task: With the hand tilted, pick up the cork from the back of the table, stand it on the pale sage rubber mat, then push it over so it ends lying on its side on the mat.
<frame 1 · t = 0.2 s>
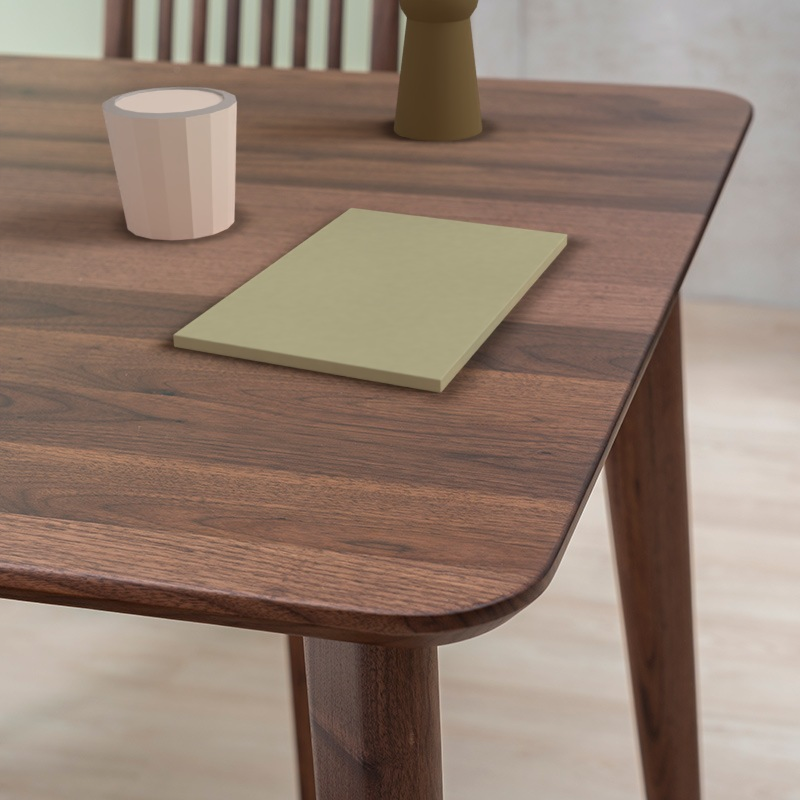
cork: (437, 138, 84), on the table
pale pink cup: (182, 233, 67), on the table
mat: (388, 299, 58), on the table
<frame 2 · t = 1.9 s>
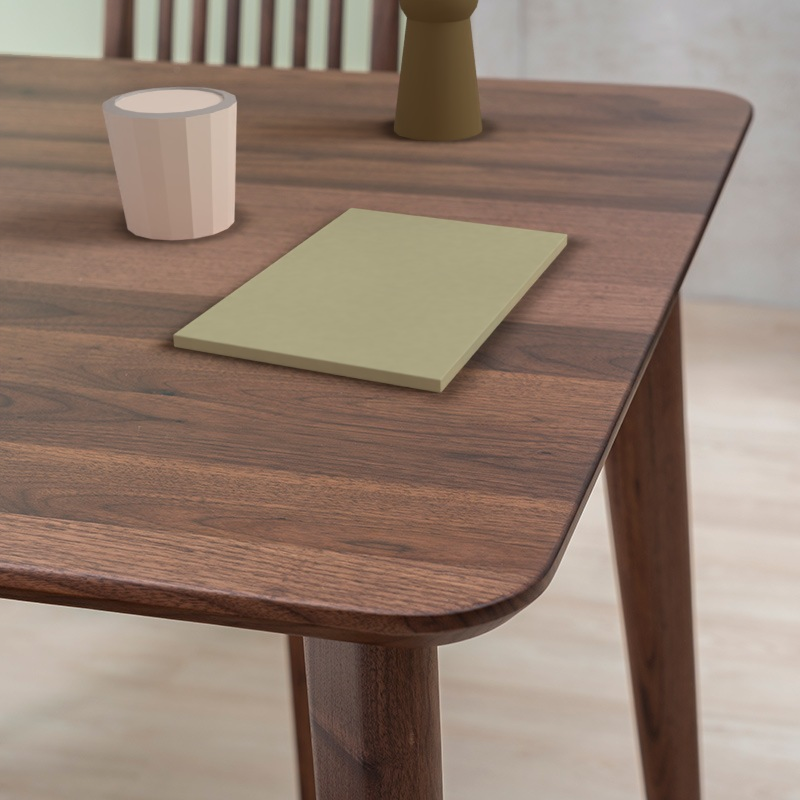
nothing on the table moved.
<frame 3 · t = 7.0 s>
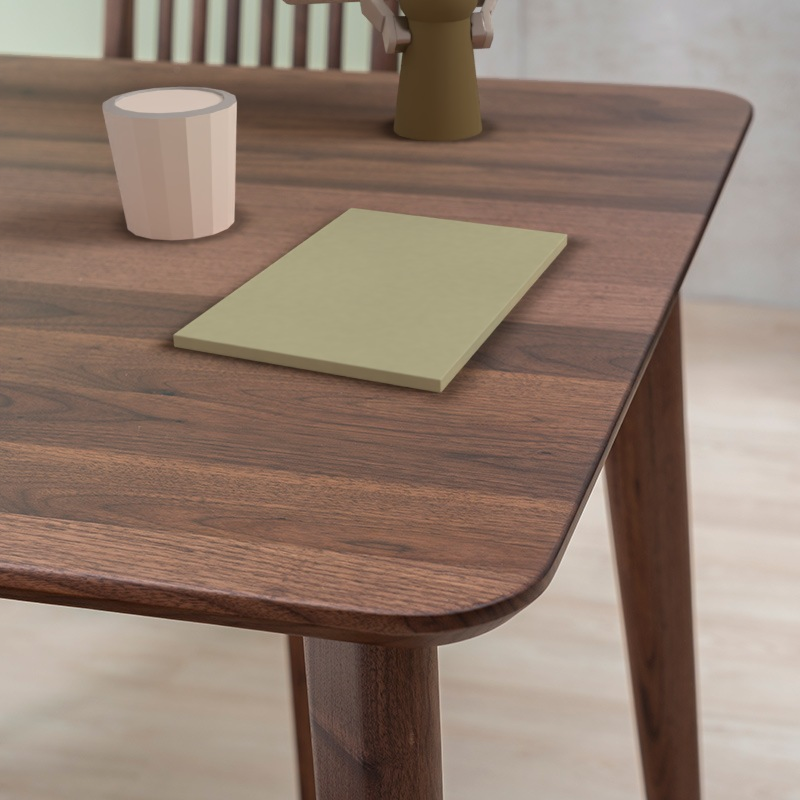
hand: (440, 46, 81), 6 cm above the table, tool tilted 45°, fingers closed on cork, 4 cm apart
cork: (437, 138, 84), on the table, touching gripper
everything else where it was.
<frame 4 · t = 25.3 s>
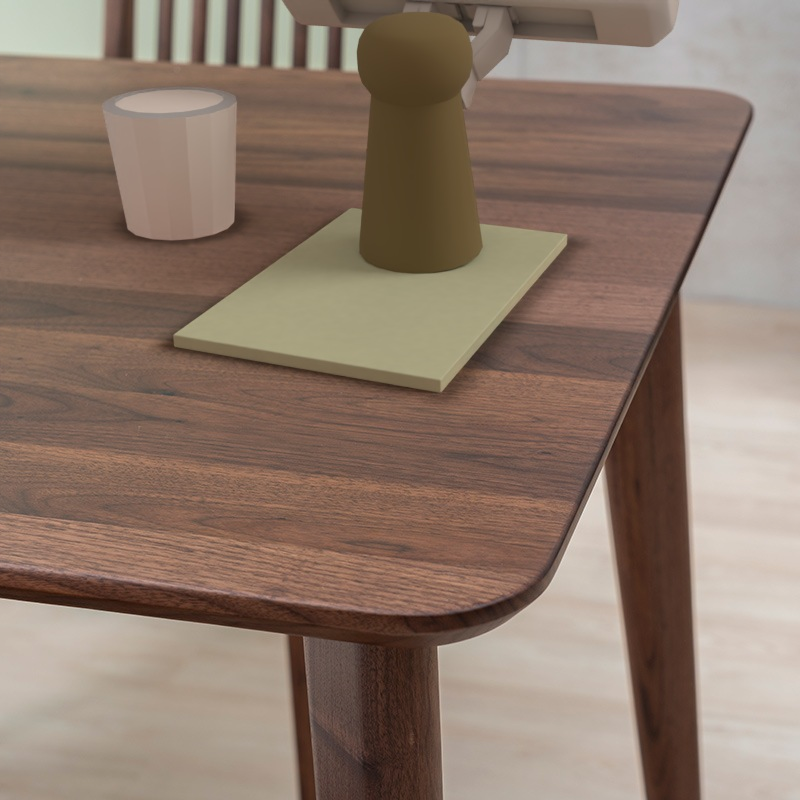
hand: (435, 101, 60), 8 cm above the table, tool tilted 45°, fingers closed, pressing on cork
cork: (420, 249, 61), point 1 cm above the table, touching gripper, mat
everything else where it was.
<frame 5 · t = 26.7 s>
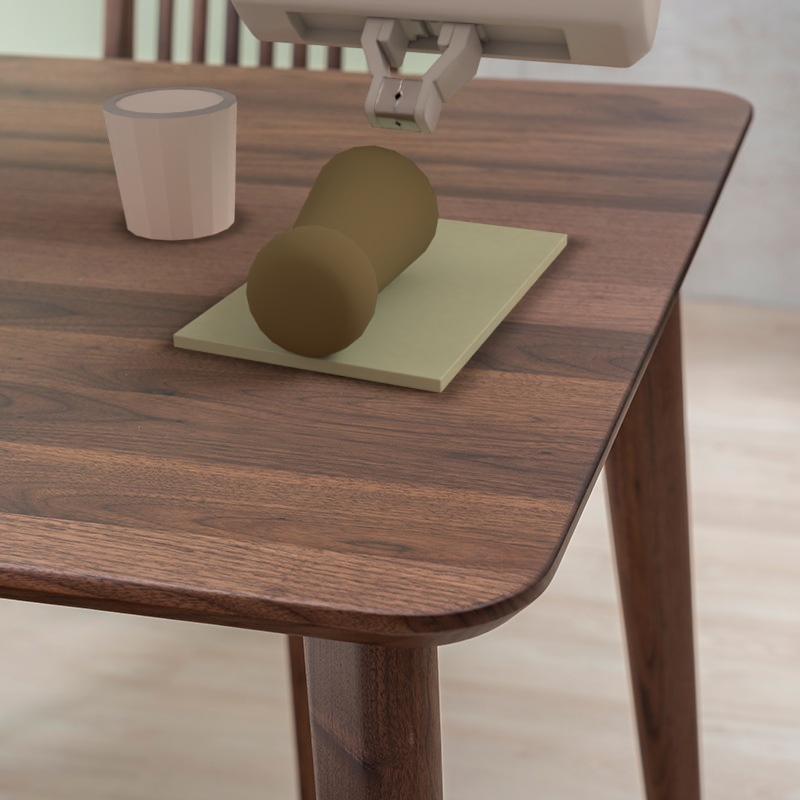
hand: (397, 124, 56), 8 cm above the table, tool tilted 45°, fingers closed
cork: (375, 207, 58), point 4 cm above the table, touching mat
everything else where it was.
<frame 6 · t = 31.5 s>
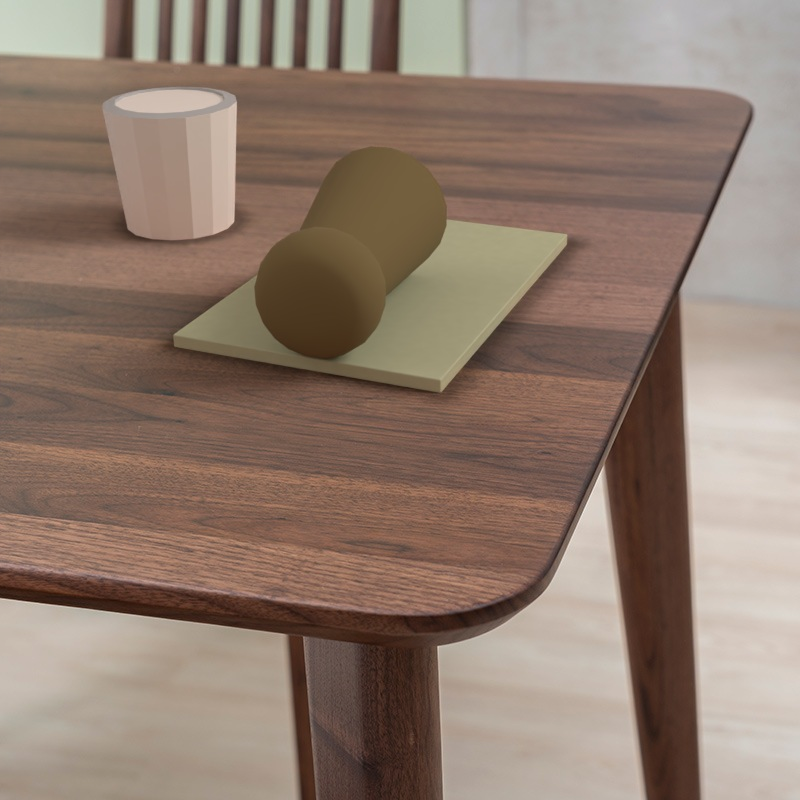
nothing on the table moved.
at the end: cork tilted 93°; cork inside the target area on the mat (0.0 cm from its centre), point 4.0 cm above the mat's base; the gripper is holding nothing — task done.
